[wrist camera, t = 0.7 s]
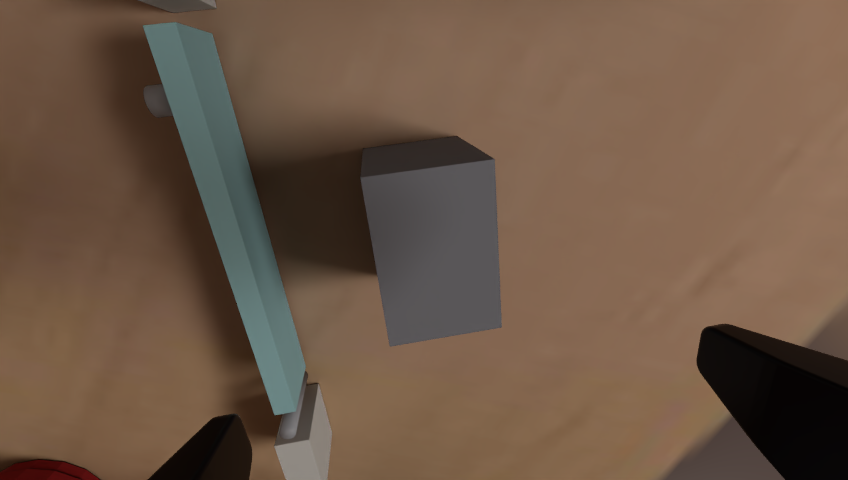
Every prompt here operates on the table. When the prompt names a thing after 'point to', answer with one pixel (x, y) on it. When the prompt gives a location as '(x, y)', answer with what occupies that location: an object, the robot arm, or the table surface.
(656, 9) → the table surface
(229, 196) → the door
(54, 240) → the table surface
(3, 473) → the plastic cup
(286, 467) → the wall
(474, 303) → the gray rectangular block
